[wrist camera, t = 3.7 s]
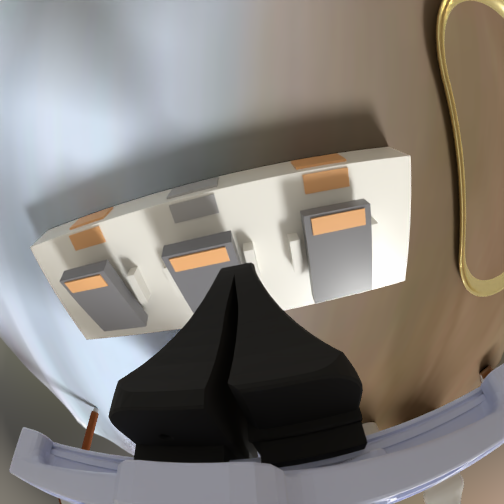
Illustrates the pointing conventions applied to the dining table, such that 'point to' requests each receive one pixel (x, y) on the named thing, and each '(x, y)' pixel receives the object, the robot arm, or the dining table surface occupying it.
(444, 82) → the serving platter
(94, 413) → the magnifying glass
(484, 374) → the tin
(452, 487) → the fruit juice
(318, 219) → the rocker
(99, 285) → the rocker
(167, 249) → the rocker
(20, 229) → the dining table surface
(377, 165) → the switch panel
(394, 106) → the dining table surface
